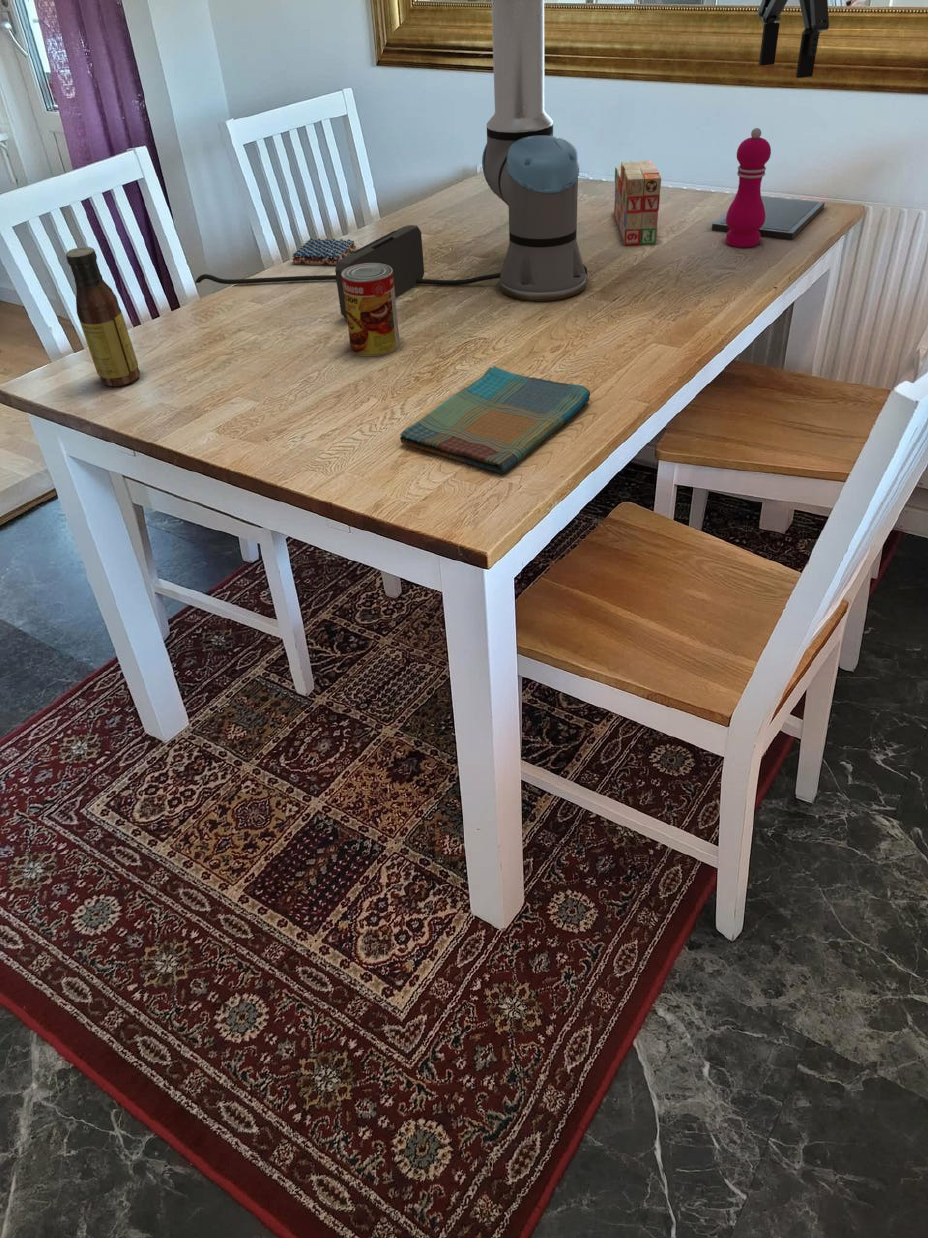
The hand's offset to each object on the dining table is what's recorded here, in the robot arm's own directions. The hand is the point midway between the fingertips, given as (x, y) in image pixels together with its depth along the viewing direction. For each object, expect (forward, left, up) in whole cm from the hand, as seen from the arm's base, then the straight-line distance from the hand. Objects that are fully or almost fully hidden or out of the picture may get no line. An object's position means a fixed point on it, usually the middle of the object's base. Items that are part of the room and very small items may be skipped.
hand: (784, 70), depth 173 cm
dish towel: (-70, -61, -28) cm, 97 cm away
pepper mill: (-6, -4, -28) cm, 29 cm away
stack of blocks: (-22, +12, -28) cm, 38 cm away
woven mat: (-84, +18, -28) cm, 91 cm away
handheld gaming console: (-77, -9, -28) cm, 83 cm away
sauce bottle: (-122, -28, -28) cm, 128 cm away
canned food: (-82, -29, -28) cm, 92 cm away
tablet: (+5, +7, -28) cm, 29 cm away
